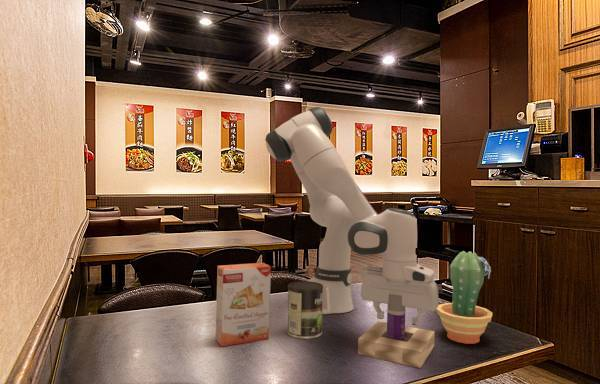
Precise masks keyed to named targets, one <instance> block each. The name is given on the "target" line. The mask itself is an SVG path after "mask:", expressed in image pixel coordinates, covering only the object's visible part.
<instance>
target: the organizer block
mask: <svg viewBox="0 0 600 384" xmlns="http://www.w3.org/2000/svg"><path fill="white" fill-rule="evenodd" d="M435 336H436V335H435V331H434V330H428V329H423V328H417V327H413V326H406V325H405V341H400V340H395V339H390V338H387V321H386V322H385V321H380V320H378V321H376V322H375V323H373V325H372V326H371V327H369V329H367V331H365V332H364V333H363V334H362V335H361V336H360V337H359V338H358V341H357V342H358V343H357V344H358V345H357V354H358V355H362V356H366V357H369V358H375V359H379V360H383V361H387V362H391V363H396V364H400V365H404V366H409V367H413V368H417V369H421V368H422V367H423V365H424V364H425V362H426V361H427V358H428V357H429V356H430V354H431V353H432V351H433V349H434V348H435Z"/></svg>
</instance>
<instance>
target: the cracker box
mask: <svg viewBox="0 0 600 384" xmlns="http://www.w3.org/2000/svg"><path fill="white" fill-rule="evenodd" d="M216 267H217V271H216V273H217V276H216V306H215V307H216V308H215V309H216V311H215V313H216V314H215V315H216V316H215V318H216V319H215V340H216V341H217V343H218V344H219V346H220V347H226V346H231V345H232V346H233V345H238V344H244V343H252V342H257V341H262V340H269V337H270V335H269V334H270V313H271V311H270V310H271V307H270V306H271V278H272V277H271V276H272V265H271V266H270V265H269V264H266V263H265V262H254V263H238V264H227V265H226V264H225V265H224V264H223V265H217V266H216Z"/></svg>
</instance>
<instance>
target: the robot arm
mask: <svg viewBox="0 0 600 384" xmlns="http://www.w3.org/2000/svg"><path fill="white" fill-rule="evenodd" d="M333 129H334V128H333V122H332V119H331V116H330V115H329V114H328V112H326V110H325V109H324V108H322V107H321V106H315V107H311V108H309V109H308V110H306V111H304V112H301V113H299V114H297V115H294V116H293V117H290V119H289V120H287V121H285V122H284V123H282V124H280V125H279V126H278V127H277V128H275V129H271V130H270V131H269V132H268V133H267V134H266V135H265V139H264V140H265V146H266V149H267V150H266V151H267V152H268V154H269V155H270V156H271V157H272V158H273V159H275V160H276V161H277V162H280V163H283V162H286V161H290V162H291V164H292V166H293V168H294V171H295V173H296V175H297V177H298V179H299V180H300V182H301V184H302V185H303V186H302V187H303V188H304V190H305V192H306V195H307V199H308V203H309V215H310V218H311V219H312V221H313V222H315V223H316V224H317V225H319V226H321V227H325V228H326V231H325V236H324V238H323V240H322V241H321V242H320V244H319V248H318V266H317V267H315V268H313V269H312V272H311V273H313V274H314V275H313V276H312V277H311V278H310V279H308V281H310V282H317V283H320V284H322V285H323V294H322V315H330V314H343V313H349V312H351V311H353V310H354V309H355V307H354V303H353V297H352V290H351V284H352V268H351V252H352V251H353V252H354V253H356V254H358V255H361V256H373V255H378V254H380V255H382V262H381V264H382V265H381V267H377V266H370V265H367V266H365V267H364V268H363V269H362V270H361V280H362V283H361V289H360V296H361V299H362V300H363V301H366V302H372V303H373V304H372V306H373V308H374V310H375V312H376V319H378V320H384V319H385V311H383V310H382V309H381V307H380V305H381V304H386V305H388V301H389V294H390V295H396V296H402V306H403V307H405V308H409V309H410V308H411V309H415V310H416V313H417V314H418V315H417V316H413V317H412V318H411V324H412V326H417V327H419V325H420V318H421V317H422V316H423V314H424V312H425V311H428V312H434V311H437V310H436V309H437V307H438V305H440V304H439V302H440V301H439V289H438V284H437V283H436V282H435V280H434V278H435V271H434V270H432V269H430V268H429V267H426V266H423V265H421V264H419V263H417V262H418V261H417V255H416V254H417V253H416V248H417V246H418V224H417V219H416V216H415V215H414V213H412V212H411V211H408V210H406V209H402V208H395V207H394V208H393V207H390V208H389V207H388V208H387V209H385V210H384V211H383V212H380V213H378V212H377V211H376V209H374V207H373V206H372V204H371V202H370V201H369V200H368V198H367V197H366V196H365V194H364V193H363V191H362V190H361V189H360V187H359V186H358V184H357V183H356V182H355V179H354V178H353V176H352V174H351V173H350V171H349V169H348V167H347V165H346V164H345V161H344V160H343V158H342V156H341V155H340V154H339V153H340V152H338V150H337V148H336V146H335V145H334V144H333V142H332V141H331V140H330V138H329V137H330V135H332V133H333ZM351 250H352V251H351Z"/></svg>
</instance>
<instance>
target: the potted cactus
mask: <svg viewBox="0 0 600 384" xmlns="http://www.w3.org/2000/svg"><path fill="white" fill-rule="evenodd" d="M449 267H450V268H449V269H450V270H449V272H450V273H449V274H450V281H451V285H452V297H451V298H452V300H451V301H452V302H445V303H441V304H438V307H437V309H436V310H435V311H436V313H437V315H438V316H439V318H440V321H441V324H442V326H443V327H444V329H445V330H446V332H447V334H446V337H447V338H448V339H449V340H451V341H453V342H457V343H462V344H466V345H467V344H477V343H479V342H481V341H480V337H481V336H482V335H483V334H484V333H485V330H486V329H487V326H488V324H489V323H491V321H492V317H493V312H492V311H490V310H489V309H488V308H485V307H481V306H478V305H477V301H478V298H479V293H480V291H481V288H482V286H483V284H484V279H485V277H486V276H487V275H488V277H487V279H488V280H489V279H490V276H491V272H492V269H491V268H492V267H491V266H490V264H489V262H488V261H487V259H486V258H484V257H483V256H478V254H477V253H476V252H474V253H473V252H472V251H468V252H466V251H465V250H462V251H460V252H459V253H458V254H457V255H456V256H455V258H454V259H453V260H452V261H451V264H450V265H449Z"/></svg>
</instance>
